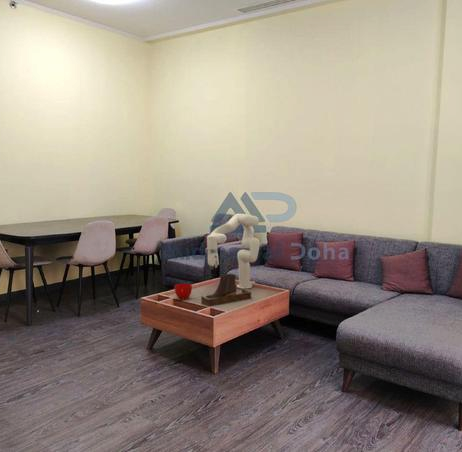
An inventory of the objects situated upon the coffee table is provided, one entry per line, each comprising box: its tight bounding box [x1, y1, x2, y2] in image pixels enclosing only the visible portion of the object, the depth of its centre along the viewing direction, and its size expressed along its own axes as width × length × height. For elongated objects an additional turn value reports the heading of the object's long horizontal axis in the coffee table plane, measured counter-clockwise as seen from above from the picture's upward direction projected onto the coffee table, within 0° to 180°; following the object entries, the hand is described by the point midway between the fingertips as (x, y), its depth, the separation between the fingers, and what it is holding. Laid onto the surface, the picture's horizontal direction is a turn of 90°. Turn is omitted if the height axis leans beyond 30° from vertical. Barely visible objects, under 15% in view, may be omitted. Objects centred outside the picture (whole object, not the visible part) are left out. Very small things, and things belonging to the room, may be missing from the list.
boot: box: [205, 273, 238, 299], centre depth 337 cm, size 9×24×20 cm, turn 104°
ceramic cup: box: [174, 283, 193, 301], centre depth 343 cm, size 13×17×10 cm
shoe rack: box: [200, 289, 252, 307], centre depth 339 cm, size 37×11×5 cm, turn 124°
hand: (213, 274), depth 350 cm, fingers closed
